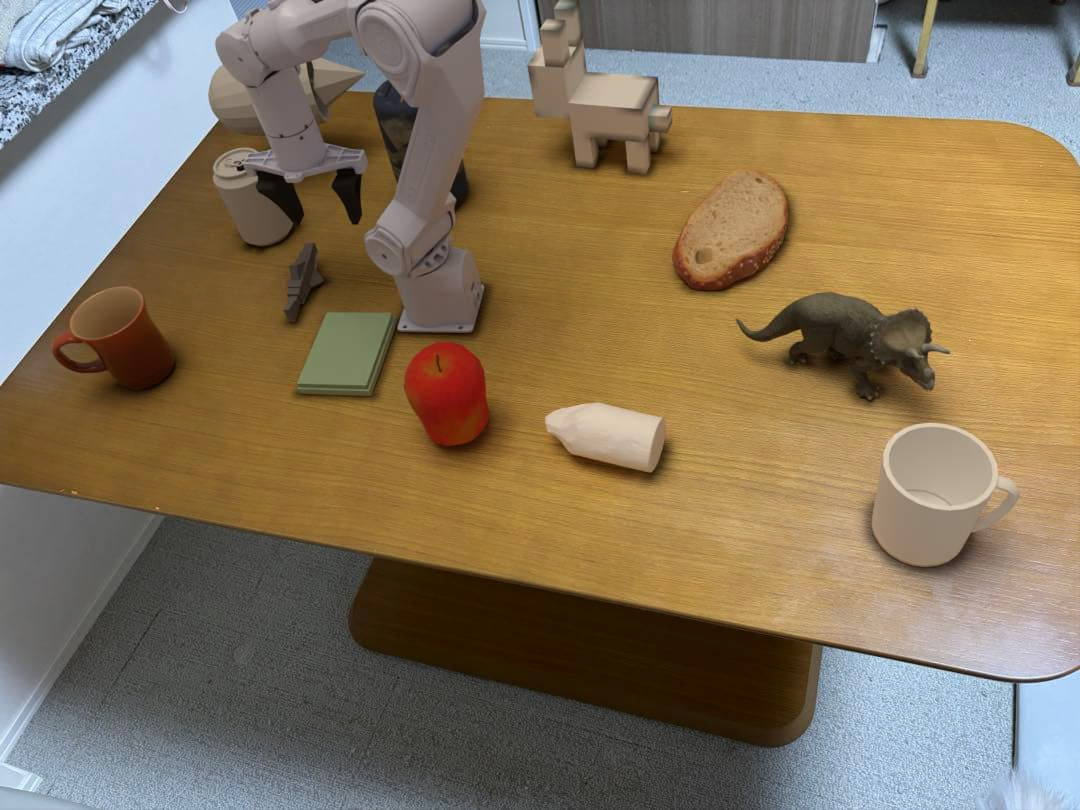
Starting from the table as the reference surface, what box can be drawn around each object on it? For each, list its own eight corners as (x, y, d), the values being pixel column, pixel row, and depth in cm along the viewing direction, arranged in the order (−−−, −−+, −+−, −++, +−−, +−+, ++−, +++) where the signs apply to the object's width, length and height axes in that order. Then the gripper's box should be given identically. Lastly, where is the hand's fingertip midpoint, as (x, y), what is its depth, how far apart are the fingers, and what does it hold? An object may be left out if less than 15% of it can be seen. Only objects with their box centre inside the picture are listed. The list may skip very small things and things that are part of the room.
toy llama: (663, 176, 121) (657, 36, 105) (543, 162, 126) (521, 28, 111) (678, 143, 125) (674, 4, 109) (561, 131, 130) (542, -2, 115)
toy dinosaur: (728, 349, 99) (730, 274, 91) (769, 304, 103) (775, 228, 94) (917, 440, 88) (940, 364, 80) (956, 385, 92) (983, 308, 83)
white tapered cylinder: (560, 414, 97) (553, 381, 93) (667, 438, 93) (665, 404, 89) (540, 457, 94) (532, 425, 89) (649, 484, 90) (647, 451, 85)
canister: (392, 214, 124) (353, 98, 110) (422, 173, 129) (388, 57, 115) (453, 224, 120) (420, 106, 107) (482, 181, 126) (454, 63, 112)
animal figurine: (311, 328, 113) (295, 305, 109) (279, 327, 114) (262, 304, 110) (334, 252, 119) (320, 228, 114) (304, 252, 120) (288, 228, 115)
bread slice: (760, 172, 118) (762, 148, 115) (831, 253, 107) (834, 228, 104) (634, 213, 116) (632, 190, 114) (692, 300, 105) (692, 277, 102)
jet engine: (340, 203, 127) (297, 93, 114) (231, 182, 134) (178, 76, 121) (392, 142, 135) (357, 32, 122) (286, 125, 142) (243, 20, 129)
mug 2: (859, 558, 81) (875, 496, 73) (873, 480, 86) (890, 413, 78) (990, 590, 78) (1023, 527, 70) (998, 506, 83) (1029, 439, 75)
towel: (397, 321, 110) (394, 311, 109) (371, 396, 103) (367, 386, 101) (329, 320, 112) (325, 310, 110) (299, 394, 104) (294, 384, 103)
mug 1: (175, 335, 114) (136, 275, 106) (190, 377, 109) (150, 318, 101) (84, 375, 112) (37, 317, 104) (94, 421, 106) (45, 363, 99)
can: (284, 250, 122) (249, 178, 113) (235, 249, 124) (197, 177, 115) (303, 215, 127) (272, 142, 117) (256, 214, 128) (221, 143, 119)
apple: (427, 399, 101) (400, 327, 92) (500, 394, 100) (479, 320, 91) (418, 461, 96) (388, 391, 87) (495, 457, 94) (473, 385, 85)
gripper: (216, 146, 98) (263, 241, 108) (339, 142, 95) (375, 240, 105) (239, 109, 102) (282, 204, 113) (357, 104, 99) (390, 202, 110)
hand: (328, 219), depth 109 cm, fingers open, 7 cm apart
